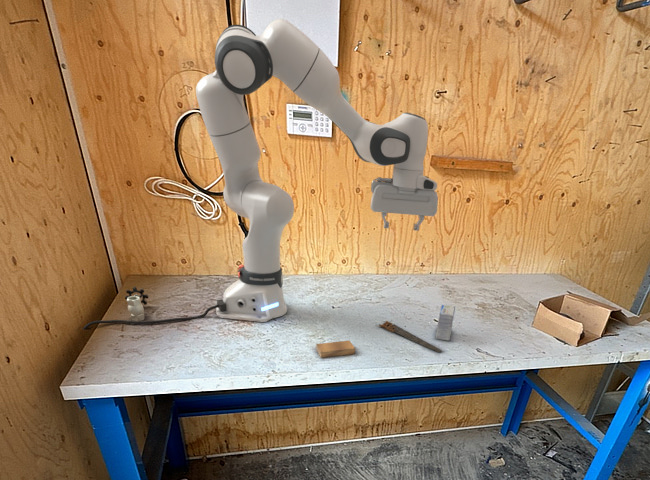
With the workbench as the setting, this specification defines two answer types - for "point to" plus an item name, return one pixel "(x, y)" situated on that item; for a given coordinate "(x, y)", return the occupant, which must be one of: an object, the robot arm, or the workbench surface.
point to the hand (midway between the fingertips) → (401, 229)
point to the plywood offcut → (335, 349)
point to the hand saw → (407, 335)
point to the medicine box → (445, 322)
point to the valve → (136, 304)
